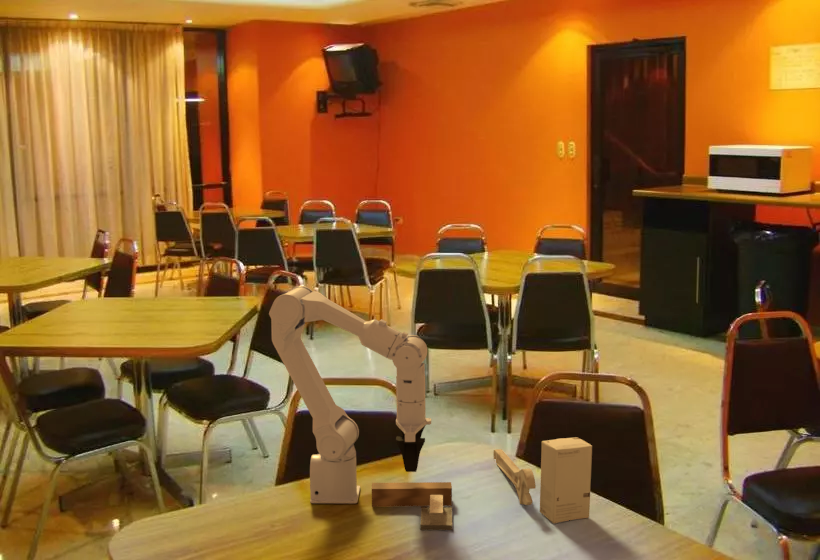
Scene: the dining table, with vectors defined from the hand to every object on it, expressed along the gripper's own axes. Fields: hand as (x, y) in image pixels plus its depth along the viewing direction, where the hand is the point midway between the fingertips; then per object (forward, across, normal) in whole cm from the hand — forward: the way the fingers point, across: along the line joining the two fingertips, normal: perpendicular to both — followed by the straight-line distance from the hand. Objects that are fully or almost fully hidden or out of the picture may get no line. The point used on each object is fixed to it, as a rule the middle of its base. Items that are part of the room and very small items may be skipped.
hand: (411, 463), depth 180 cm
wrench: (+9, +9, -21) cm, 24 cm away
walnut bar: (+9, 0, 0) cm, 9 cm away
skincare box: (+9, -5, -30) cm, 32 cm away
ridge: (+8, -8, -5) cm, 13 cm away
